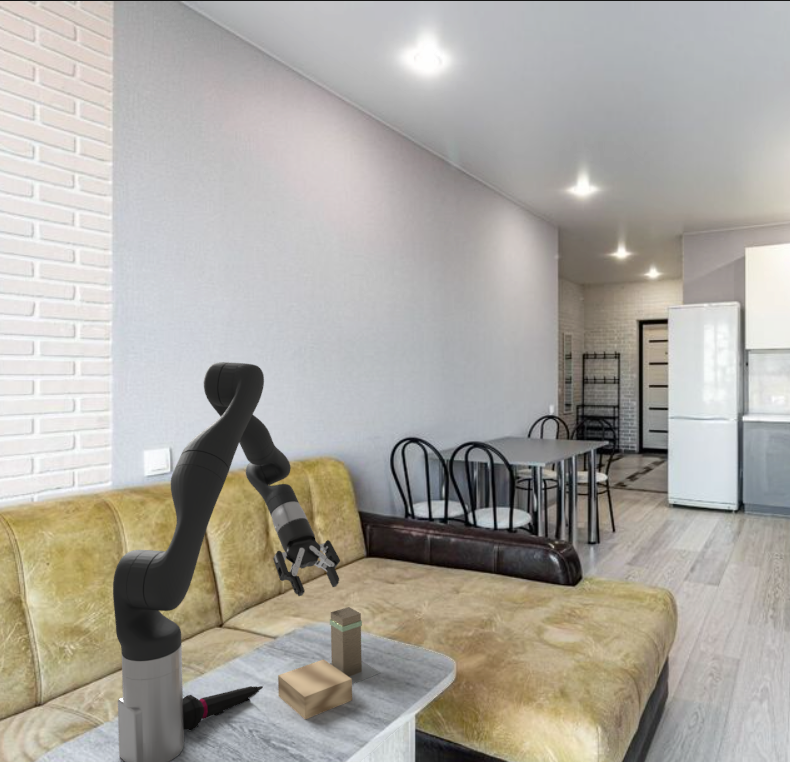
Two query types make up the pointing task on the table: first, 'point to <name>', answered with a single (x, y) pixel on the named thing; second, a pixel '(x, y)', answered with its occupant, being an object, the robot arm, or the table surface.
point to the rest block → (314, 688)
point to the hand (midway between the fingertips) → (319, 589)
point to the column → (346, 641)
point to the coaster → (364, 673)
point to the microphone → (213, 705)
